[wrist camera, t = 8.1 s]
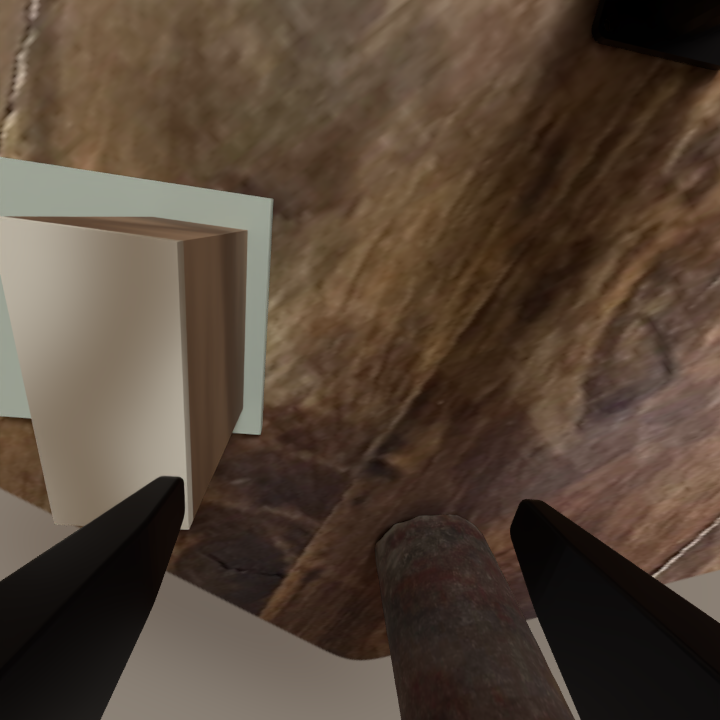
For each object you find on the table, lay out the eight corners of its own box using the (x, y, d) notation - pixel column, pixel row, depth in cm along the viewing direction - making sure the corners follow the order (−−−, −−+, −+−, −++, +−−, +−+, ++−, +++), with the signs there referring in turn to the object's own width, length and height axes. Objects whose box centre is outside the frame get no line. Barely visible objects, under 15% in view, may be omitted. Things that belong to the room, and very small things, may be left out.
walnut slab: (247, 230, 16) (177, 241, 8) (243, 408, 19) (189, 529, 12) (151, 216, 15) (-13, 216, 8) (163, 401, 19) (54, 524, 11)
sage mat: (273, 199, 16) (271, 198, 15) (262, 429, 20) (260, 434, 20) (-57, 148, 14) (-72, 146, 14) (6, 409, 19) (-3, 415, 18)
